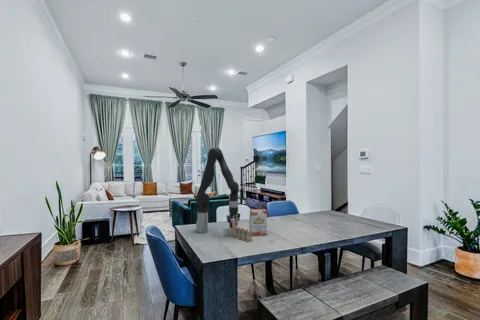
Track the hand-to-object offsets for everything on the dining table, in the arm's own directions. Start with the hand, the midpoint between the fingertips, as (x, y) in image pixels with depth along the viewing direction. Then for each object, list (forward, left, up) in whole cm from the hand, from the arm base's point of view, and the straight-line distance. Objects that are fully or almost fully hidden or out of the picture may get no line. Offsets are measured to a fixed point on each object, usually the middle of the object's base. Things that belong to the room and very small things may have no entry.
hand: (233, 226), depth 205 cm
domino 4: (+12, -6, -8) cm, 15 cm away
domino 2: (+4, -2, -8) cm, 9 cm away
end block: (-5, +3, -8) cm, 10 cm away
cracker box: (+18, +11, -8) cm, 23 cm away
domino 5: (+15, -9, -8) cm, 19 cm away
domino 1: (0, 0, -3) cm, 3 cm away
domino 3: (+8, -4, -8) cm, 12 cm away
